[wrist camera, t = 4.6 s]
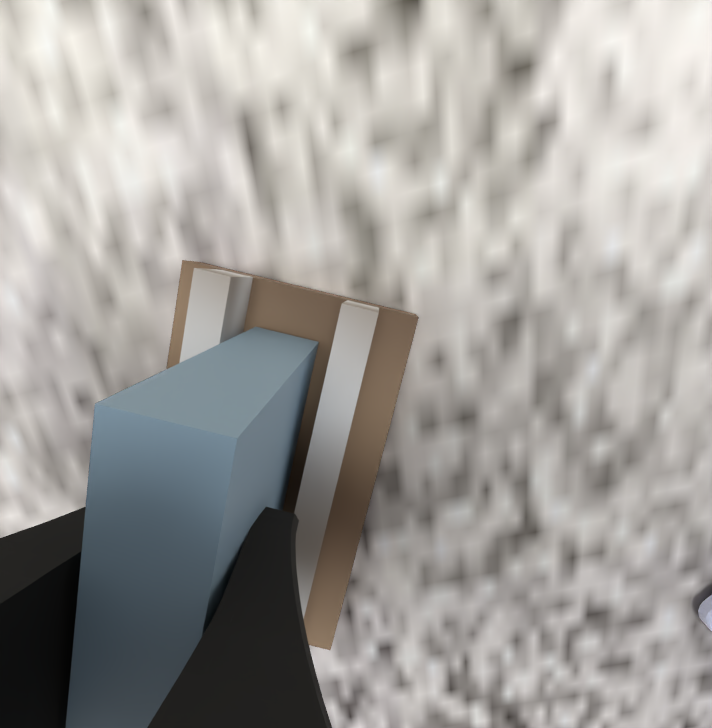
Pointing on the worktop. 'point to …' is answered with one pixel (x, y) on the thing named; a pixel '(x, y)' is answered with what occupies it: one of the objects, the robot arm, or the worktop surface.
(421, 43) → the worktop surface
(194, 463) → the door panel
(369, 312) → the bottom track
